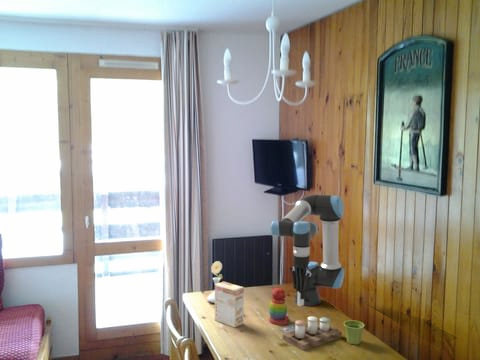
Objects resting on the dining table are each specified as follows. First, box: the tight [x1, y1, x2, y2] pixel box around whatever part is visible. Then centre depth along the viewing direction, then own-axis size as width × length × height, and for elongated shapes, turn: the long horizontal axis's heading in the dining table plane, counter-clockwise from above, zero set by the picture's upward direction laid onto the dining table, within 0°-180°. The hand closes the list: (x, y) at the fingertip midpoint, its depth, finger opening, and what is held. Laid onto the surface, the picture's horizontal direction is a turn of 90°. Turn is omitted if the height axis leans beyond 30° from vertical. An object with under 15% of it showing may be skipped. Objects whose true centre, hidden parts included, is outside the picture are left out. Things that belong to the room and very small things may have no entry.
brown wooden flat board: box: [282, 322, 343, 351], centre depth 213 cm, size 25×14×2 cm, turn 125°
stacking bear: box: [268, 286, 290, 327], centre depth 232 cm, size 11×10×18 cm
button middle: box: [307, 316, 319, 335], centre depth 212 cm, size 5×5×7 cm
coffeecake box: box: [214, 281, 245, 329], centre depth 231 cm, size 15×7×20 cm, turn 47°
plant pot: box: [343, 319, 365, 345], centre depth 208 cm, size 9×9×9 cm
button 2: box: [319, 316, 331, 333], centre depth 217 cm, size 5×5×7 cm
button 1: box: [294, 319, 306, 338], centre depth 208 cm, size 5×5×7 cm
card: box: [278, 323, 308, 334], centre depth 224 cm, size 14×6×1 cm, turn 125°
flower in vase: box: [206, 260, 224, 304], centre depth 261 cm, size 13×11×25 cm
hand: (300, 305), depth 207 cm, fingers closed
